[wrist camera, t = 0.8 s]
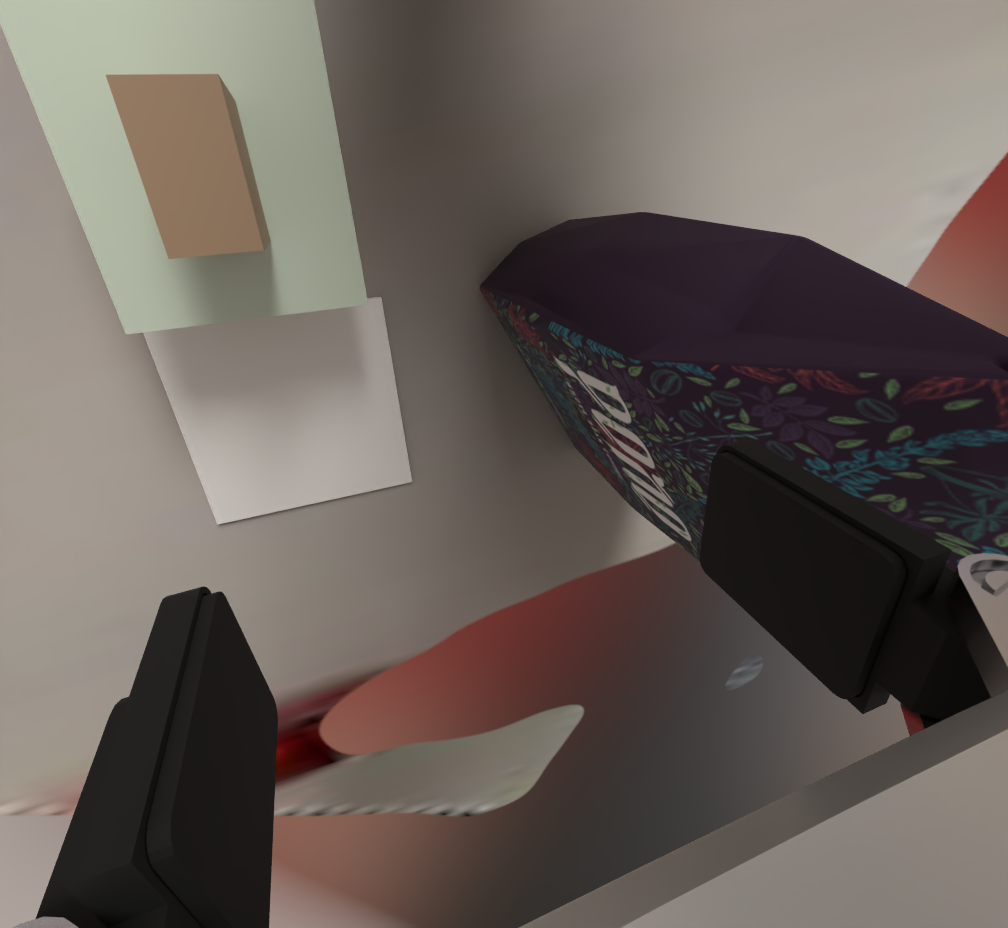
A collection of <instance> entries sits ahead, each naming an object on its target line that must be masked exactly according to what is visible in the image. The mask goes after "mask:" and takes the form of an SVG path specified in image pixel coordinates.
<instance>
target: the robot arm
mask: <svg viewBox="0 0 1008 928" xmlns="http://www.w3.org/2000/svg"><path fill="white" fill-rule="evenodd" d="M951 551H952V549H950V548H948V547H946V546H944V545H942V544H941V543H939V542H937V541H935V540H933V539H932V538H930V537H928V536H926V535H924V534H922V533H921V532H919V531H917V530H915V529H913V528H911V527H910V526H908V525H906V524H904V523H902V522H901V521H899V520H897V519H895V518H893V517H891V516H890V515H888V514H886V513H884V512H882V511H880V510H879V509H877V508H875V507H873V506H871V505H870V504H868V503H866V502H864V501H862V500H860V499H859V498H857V497H855V496H853V495H851V494H849V493H848V492H846V491H844V490H842V489H840V488H839V487H837V486H835V485H833V484H831V483H829V482H828V481H826V480H824V479H822V478H820V477H818V476H817V475H815V474H813V473H811V472H809V471H808V470H806V469H804V468H802V467H800V466H798V465H797V464H795V463H793V462H791V461H789V460H787V459H786V458H784V457H782V456H780V455H778V454H777V453H775V452H773V451H771V450H769V449H767V448H766V447H764V446H762V445H760V444H758V443H756V442H755V441H752V440H749V439H748V440H742V441H738V442H734V443H731V444H727V445H723V446H722V447H720V448H719V449H718V451H717V453H716V455H715V456H714V457H713V459H712V462H711V469H710V477H709V485H708V493H707V501H706V509H705V517H704V525H703V533H702V541H701V549H700V563H701V566H702V568H703V570H704V572H705V573H706V574H707V575H708V576H709V577H710V578H711V579H712V580H713V581H715V583H717V584H718V585H719V586H720V587H721V588H722V589H723V590H724V591H725V592H726V593H727V594H728V595H729V596H730V597H732V599H734V600H735V601H736V602H737V603H738V604H739V605H740V606H741V607H742V608H743V609H744V610H745V611H746V612H747V613H748V614H750V615H751V616H752V617H753V618H754V619H755V620H756V621H757V622H758V623H759V624H760V625H761V626H762V627H763V628H765V630H767V631H768V632H769V633H770V634H771V635H772V636H773V637H774V638H775V639H776V640H777V641H778V642H779V643H780V644H781V645H782V646H784V647H785V648H786V649H787V650H788V651H789V652H790V653H791V654H792V655H793V656H794V657H795V658H796V659H797V660H799V661H800V662H801V663H802V664H803V665H804V666H805V667H806V668H807V669H808V670H809V671H810V672H811V673H812V674H813V675H815V676H816V677H817V678H818V679H819V680H820V681H821V682H822V683H823V684H824V685H825V686H826V687H827V688H828V689H829V690H830V691H832V692H833V693H834V694H835V695H836V696H838V697H840V698H842V699H847V700H848V701H849V702H850V703H851V704H852V705H854V707H856V708H857V709H858V710H859V711H860V712H861V713H862V714H864V713H866V712H868V711H870V710H873V709H875V708H877V707H879V706H881V705H884V704H886V703H887V700H888V698H889V696H890V694H891V695H893V696H894V697H895V698H896V699H897V700H898V701H900V705H901V709H902V712H903V715H904V719H905V722H906V725H907V729H908V732H909V735H910V736H909V737H907V738H905V739H903V740H901V741H899V742H897V743H895V744H893V745H891V746H889V747H887V748H885V749H882V750H881V751H878V752H876V753H874V754H872V755H870V756H868V757H866V758H864V759H862V760H860V761H858V762H855V763H853V764H851V765H849V766H848V767H845V768H843V769H841V770H839V771H837V772H835V773H833V774H831V775H829V776H826V777H824V778H822V779H820V780H819V781H816V782H814V783H812V784H810V785H808V786H806V787H804V788H802V789H800V790H798V791H796V792H794V793H792V794H790V795H788V796H786V797H783V798H781V799H779V800H777V801H775V802H773V803H771V804H769V805H767V806H765V807H763V808H761V809H759V810H757V811H755V812H753V813H751V814H749V815H747V816H745V817H743V818H740V819H739V820H737V821H734V822H732V823H730V824H729V825H726V826H724V827H722V828H720V829H718V830H716V831H714V832H712V833H710V834H708V835H706V836H704V837H702V838H700V839H698V840H696V841H694V842H692V843H689V844H687V845H686V846H683V847H681V848H679V849H677V850H675V851H673V852H671V853H669V854H667V855H665V856H663V857H661V858H659V859H657V860H655V861H653V862H651V863H649V864H647V865H645V866H643V867H641V868H639V869H637V870H635V871H633V872H630V873H628V874H626V875H624V876H622V877H620V878H618V879H617V880H614V881H612V882H610V883H609V884H606V885H604V886H602V887H600V888H598V889H596V890H594V891H592V892H590V893H588V894H586V895H584V896H582V897H580V898H578V899H576V900H574V901H572V902H570V903H568V904H566V905H564V906H562V907H560V908H558V909H556V910H554V911H552V912H550V913H548V914H546V915H544V916H542V917H540V918H538V919H536V920H534V921H532V922H530V923H528V924H526V925H524V926H522V927H520V928H1008V556H1005V555H1000V554H987V553H981V554H974V555H969V556H967V557H965V558H963V559H961V560H960V562H959V564H958V566H957V568H956V571H955V572H954V571H952V570H951V569H949V568H947V567H946V566H945V565H946V562H947V560H948V558H949V555H950V553H951ZM277 726H278V716H277V708H276V704H275V700H274V698H273V695H272V693H271V691H270V689H269V687H268V685H267V683H266V681H265V678H264V676H263V674H262V672H261V670H260V668H259V666H258V664H257V662H256V660H255V657H254V655H253V653H252V651H251V649H250V647H249V645H248V643H247V641H246V639H245V636H244V634H243V632H242V630H241V628H240V626H239V624H238V622H237V620H236V617H235V615H234V613H233V611H232V609H231V607H230V605H229V603H228V601H227V599H226V597H225V595H224V594H223V593H222V592H216V593H211V592H210V590H209V589H208V588H207V587H200V588H196V589H193V590H189V591H185V592H182V593H178V594H174V595H171V596H167V597H165V598H164V599H163V600H162V602H161V604H160V607H159V610H158V613H157V616H156V619H155V622H154V625H153V628H152V631H151V634H150V637H149V640H148V642H147V645H146V648H145V651H144V654H143V657H142V660H141V663H140V666H139V669H138V672H137V675H136V678H135V681H134V684H133V687H132V690H131V693H130V696H129V697H127V698H123V699H121V700H120V701H119V702H118V703H117V704H116V705H115V706H114V708H113V710H112V712H111V714H110V716H109V719H108V721H107V724H106V727H105V730H104V732H103V735H102V738H101V741H100V743H99V746H98V749H97V752H96V754H95V757H94V760H93V763H92V765H91V768H90V771H89V774H88V776H87V779H86V782H85V785H84V787H83V790H82V793H81V796H80V798H79V801H78V804H77V807H76V809H75V812H74V815H73V818H72V820H71V823H70V826H69V829H68V831H67V834H66V837H65V840H64V842H63V845H62V848H61V851H60V853H59V856H58V859H57V862H56V865H55V867H54V870H53V873H52V876H51V878H50V881H49V884H48V886H47V889H46V892H45V894H44V898H43V900H42V903H41V905H40V908H39V911H38V914H37V917H36V919H35V920H31V921H28V922H25V923H22V924H19V925H17V926H15V927H14V928H269V912H270V890H271V865H272V843H273V842H272V841H273V818H274V796H275V772H276V749H277Z"/></svg>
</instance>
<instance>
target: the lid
mask: <svg viewBox="0 0 1008 928" xmlns="http://www.w3.org/2000/svg"><path fill="white" fill-rule="evenodd" d="M0 24H1V27H2V29H3V32H4V34H5V37H6V39H7V41H8V44H9V46H10V49H11V51H12V54H13V56H14V59H15V61H16V64H17V66H18V69H19V71H20V74H21V76H22V79H23V81H24V83H25V86H26V88H27V91H28V93H29V96H30V98H31V101H32V103H33V106H34V108H35V111H36V113H37V116H38V118H39V121H40V123H41V125H42V128H43V130H44V133H45V135H46V138H47V140H48V143H49V145H50V148H51V150H52V153H53V155H54V158H55V160H56V163H57V165H58V167H59V170H60V172H61V175H62V177H63V180H64V182H65V185H66V187H67V190H68V192H69V195H70V197H71V200H72V202H73V205H74V207H75V209H76V212H77V214H78V217H79V219H80V222H81V224H82V227H83V229H84V232H85V234H86V237H87V239H88V242H89V244H90V247H91V249H92V251H93V254H94V256H95V259H96V261H97V264H98V266H99V269H100V271H101V274H102V276H103V279H104V281H105V284H106V286H107V289H108V291H109V294H110V296H111V298H112V301H113V303H114V306H115V308H116V311H117V313H118V316H119V318H120V321H121V323H122V326H123V328H124V331H125V333H126V335H127V334H135V333H143V332H151V331H159V330H167V329H175V328H183V327H191V326H199V325H208V324H216V323H224V322H232V321H240V320H248V319H256V318H264V317H272V316H280V315H289V314H297V313H305V312H313V311H321V310H329V309H337V308H345V307H353V306H361V305H368V299H367V294H366V288H365V282H364V277H363V271H362V266H361V260H360V255H359V249H358V243H357V238H356V232H355V227H354V221H353V216H352V210H351V204H350V199H349V193H348V188H347V182H346V177H345V171H344V165H343V160H342V154H341V149H340V143H339V137H338V132H337V126H336V121H335V115H334V110H333V104H332V98H331V93H330V87H329V82H328V76H327V71H326V65H325V59H324V54H323V48H322V43H321V37H320V32H319V26H318V20H317V15H316V9H315V4H314V0H0Z"/></svg>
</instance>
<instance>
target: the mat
mask: <svg viewBox="0 0 1008 928" xmlns="http://www.w3.org/2000/svg"><path fill="white" fill-rule="evenodd" d="M367 299H368V305H361V306H353V307H345V308H337V309H329V310H321V311H313V312H305V313H297V314H289V315H280V316H272V317H264V318H256V319H248V320H240V321H232V322H224V323H216V324H208V325H199V326H191V327H183V328H175V329H167V330H159V331H151V332H143V334H144V337H145V339H146V342H147V344H148V347H149V350H150V352H151V355H152V357H153V360H154V362H155V365H156V368H157V370H158V373H159V375H160V378H161V380H162V383H163V386H164V388H165V391H166V393H167V396H168V398H169V401H170V404H171V406H172V409H173V411H174V414H175V416H176V419H177V422H178V424H179V427H180V429H181V432H182V434H183V437H184V440H185V442H186V445H187V447H188V450H189V452H190V455H191V458H192V460H193V463H194V465H195V468H196V470H197V473H198V476H199V478H200V481H201V483H202V486H203V488H204V491H205V494H206V496H207V499H208V501H209V504H210V506H211V509H212V512H213V514H214V517H215V519H216V522H217V524H223V523H227V522H232V521H236V520H241V519H245V518H250V517H255V516H259V515H264V514H268V513H273V512H277V511H282V510H287V509H291V508H296V507H300V506H305V505H309V504H314V503H319V502H323V501H328V500H332V499H337V498H341V497H346V496H350V495H355V494H360V493H364V492H369V491H373V490H378V489H382V488H387V487H392V486H396V485H401V484H405V483H410V482H412V478H411V472H410V466H409V460H408V454H407V448H406V442H405V436H404V430H403V424H402V418H401V412H400V406H399V400H398V394H397V388H396V382H395V376H394V370H393V364H392V358H391V352H390V346H389V340H388V334H387V328H386V322H385V316H384V310H383V304H382V298H381V297H372V298H367Z"/></svg>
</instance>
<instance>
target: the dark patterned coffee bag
mask: <svg viewBox="0 0 1008 928" xmlns="http://www.w3.org/2000/svg"><path fill="white" fill-rule="evenodd" d="M480 289H481V291H482V293H483V294H484V296H485V298H486V299H487V301H488V303H489V304H490V306H491V308H492V309H493V311H494V313H495V314H496V316H497V318H498V319H499V321H500V323H501V324H502V326H503V328H504V329H505V331H506V333H507V334H508V336H509V338H510V339H511V341H512V343H513V344H514V346H515V348H516V349H517V351H518V353H519V354H520V356H521V358H522V359H523V361H524V363H525V364H526V366H527V368H528V369H529V371H530V373H531V374H532V376H533V378H534V379H535V381H536V383H537V384H538V386H539V388H540V389H541V391H542V393H543V394H544V396H545V398H546V399H547V401H548V402H549V404H550V406H551V407H552V409H553V411H554V412H555V414H556V416H557V417H558V419H559V421H560V422H561V424H562V426H563V427H564V429H565V431H566V432H567V434H568V436H569V437H570V439H571V441H572V442H573V444H574V446H575V447H576V449H577V450H578V451H579V452H580V453H581V454H582V455H583V456H584V457H585V458H586V459H587V460H588V461H589V462H590V463H591V464H592V466H593V467H594V468H595V469H596V470H597V471H598V472H599V473H600V474H601V475H602V476H603V477H604V478H605V479H606V480H607V481H608V482H609V483H610V484H611V486H612V487H613V488H614V489H615V490H616V491H617V492H618V493H619V494H620V495H621V496H622V497H623V498H624V499H625V500H626V501H627V502H628V503H629V504H630V505H631V506H632V507H633V508H634V509H635V510H636V511H637V512H639V513H640V514H641V515H642V516H644V517H645V518H646V519H647V520H649V521H650V522H651V523H652V524H654V525H655V526H656V527H657V528H659V529H660V530H661V531H662V532H663V533H665V534H666V535H667V536H668V537H670V538H671V539H672V540H673V541H675V542H676V543H677V544H678V545H680V546H681V547H682V548H684V549H685V550H686V551H687V552H688V553H690V554H691V555H692V556H693V557H695V558H696V559H697V560H699V561H700V549H701V541H702V533H703V525H704V517H705V509H706V501H707V493H708V485H709V477H710V469H711V462H712V459H713V457H714V456H715V455H716V453H717V451H718V449H719V448H720V447H722V446H723V445H727V444H731V443H734V442H738V441H742V440H748V439H749V440H752V441H755V442H756V443H758V444H760V445H762V446H764V447H766V448H767V449H769V450H771V451H773V452H775V453H777V454H778V455H780V456H782V457H784V458H786V459H787V460H789V461H791V462H793V463H795V464H797V465H798V466H800V467H802V468H804V469H806V470H808V471H809V472H811V473H813V474H815V475H817V476H818V477H820V478H822V479H824V480H826V481H828V482H829V483H831V484H833V485H835V486H837V487H839V488H840V489H842V490H844V491H846V492H848V493H849V494H851V495H853V496H855V497H857V498H859V499H860V500H862V501H864V502H866V503H868V504H870V505H871V506H873V507H875V508H877V509H879V510H880V511H882V512H884V513H886V514H888V515H890V516H891V517H893V518H895V519H897V520H899V521H901V522H902V523H904V524H906V525H908V526H910V527H911V528H913V529H915V530H917V531H919V532H921V533H922V534H924V535H926V536H928V537H930V538H932V539H933V540H935V541H937V542H939V543H941V544H942V545H944V546H946V547H948V548H950V549H952V551H951V553H950V555H949V558H948V560H947V562H946V565H945V566H946V567H947V568H949V569H951V570H952V571H954V572H955V571H956V568H957V566H958V564H959V562H960V560H961V559H963V558H965V557H967V556H969V555H974V554H981V553H987V554H1000V555H1005V556H1008V337H1006V336H1004V335H1002V334H1000V333H998V332H996V331H994V330H992V329H989V328H988V327H986V326H984V325H982V324H980V323H978V322H976V321H974V320H972V319H970V318H968V317H966V316H963V315H962V314H959V313H958V312H956V311H953V310H951V309H949V308H947V307H945V306H943V305H941V304H939V303H937V302H935V301H933V300H931V299H929V298H927V297H925V296H923V295H921V294H919V293H917V292H915V291H913V290H911V289H909V288H907V287H905V286H903V285H901V284H899V283H897V282H895V281H893V280H891V279H889V278H887V277H885V276H883V275H881V274H879V273H877V272H875V271H873V270H870V269H868V268H866V267H864V266H862V265H860V264H858V263H856V262H854V261H852V260H850V259H848V258H846V257H844V256H842V255H840V254H838V253H836V252H834V251H832V250H830V249H828V248H826V247H824V246H822V245H820V244H818V243H816V242H814V241H812V240H810V239H807V238H805V237H801V236H796V235H790V234H783V233H777V232H770V231H764V230H757V229H751V228H744V227H738V226H731V225H725V224H719V223H712V222H706V221H699V220H693V219H686V218H680V217H673V216H667V215H661V214H654V213H647V212H638V213H629V214H620V215H611V216H601V217H592V218H583V219H574V220H568V221H566V222H564V223H562V224H560V225H557V226H555V227H553V228H551V229H549V230H547V231H544V232H542V233H540V234H538V235H536V236H534V237H531V238H529V239H527V240H525V241H523V242H521V243H520V244H518V245H517V246H516V248H515V249H514V250H513V251H512V252H511V253H510V254H509V255H508V256H507V257H506V258H505V259H504V261H503V262H502V263H501V264H500V265H499V266H498V267H497V268H496V269H495V270H494V271H493V272H492V273H491V275H490V276H489V277H488V278H487V279H486V280H485V281H484V282H483V283H482V284H481V285H480Z"/></svg>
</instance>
